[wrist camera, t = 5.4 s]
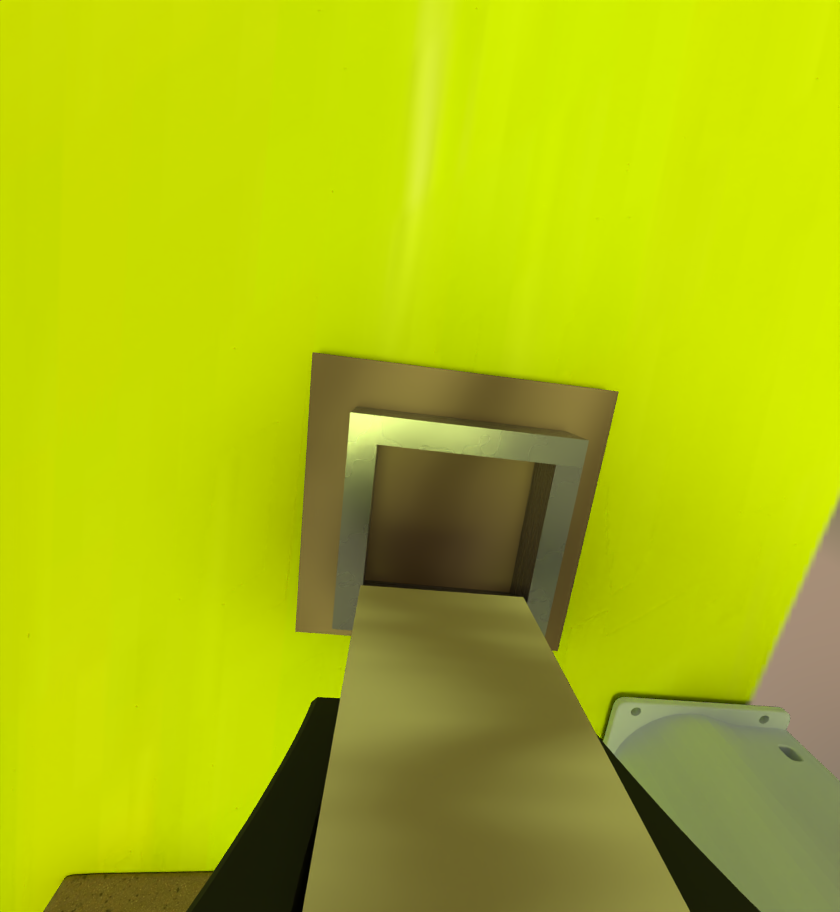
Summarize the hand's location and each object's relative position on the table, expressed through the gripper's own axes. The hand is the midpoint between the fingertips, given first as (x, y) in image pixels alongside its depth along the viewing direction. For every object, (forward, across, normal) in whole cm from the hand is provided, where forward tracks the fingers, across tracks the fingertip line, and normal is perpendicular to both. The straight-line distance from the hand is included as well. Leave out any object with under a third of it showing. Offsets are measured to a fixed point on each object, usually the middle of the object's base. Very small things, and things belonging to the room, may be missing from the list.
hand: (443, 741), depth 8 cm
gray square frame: (+9, -1, -2) cm, 10 cm away
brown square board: (+9, -1, -2) cm, 10 cm away
